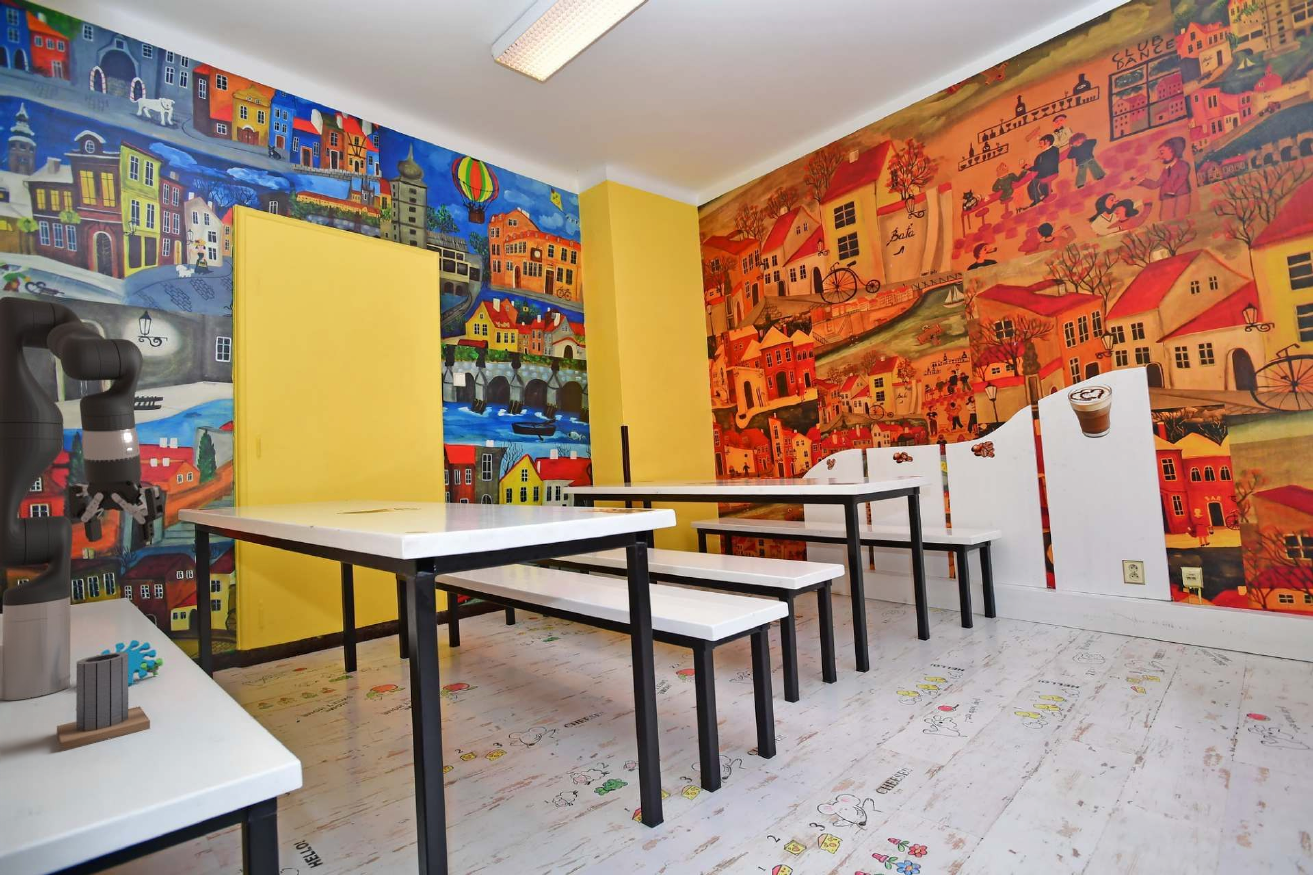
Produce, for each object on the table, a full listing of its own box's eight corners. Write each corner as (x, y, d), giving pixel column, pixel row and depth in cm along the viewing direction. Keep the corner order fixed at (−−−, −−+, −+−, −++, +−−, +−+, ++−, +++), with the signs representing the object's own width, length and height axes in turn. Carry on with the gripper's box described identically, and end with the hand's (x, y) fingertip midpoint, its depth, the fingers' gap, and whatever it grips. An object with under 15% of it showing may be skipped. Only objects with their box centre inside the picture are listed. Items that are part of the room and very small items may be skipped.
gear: (78, 685, 116) (104, 638, 124) (86, 701, 120) (112, 654, 127) (148, 685, 119) (170, 638, 127) (155, 700, 123) (176, 654, 130)
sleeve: (66, 733, 93) (66, 665, 94) (92, 719, 99) (92, 655, 100) (113, 728, 95) (113, 661, 95) (136, 713, 101) (136, 650, 101)
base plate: (56, 734, 97) (56, 726, 97) (139, 713, 104) (139, 706, 104) (61, 751, 90) (61, 742, 90) (149, 728, 97) (149, 720, 97)
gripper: (169, 450, 114) (176, 535, 117) (85, 447, 113) (95, 533, 116) (139, 459, 106) (147, 550, 109) (49, 456, 105) (60, 547, 108)
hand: (120, 541), depth 112 cm, fingers open, 8 cm apart
